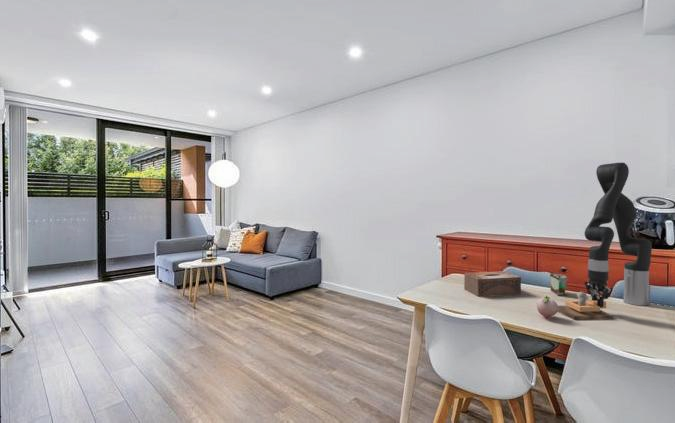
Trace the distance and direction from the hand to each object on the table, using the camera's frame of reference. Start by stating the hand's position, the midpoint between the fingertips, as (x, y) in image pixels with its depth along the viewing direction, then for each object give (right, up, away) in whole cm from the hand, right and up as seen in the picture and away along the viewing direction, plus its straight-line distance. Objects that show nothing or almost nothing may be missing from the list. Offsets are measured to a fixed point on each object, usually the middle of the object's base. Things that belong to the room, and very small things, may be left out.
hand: (597, 305), depth 153 cm
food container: (+4, -2, +31) cm, 32 cm away
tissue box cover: (-32, -3, +36) cm, 49 cm away
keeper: (-7, -4, 0) cm, 8 cm away
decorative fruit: (-26, -4, -4) cm, 27 cm away
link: (-4, -1, 0) cm, 4 cm away
